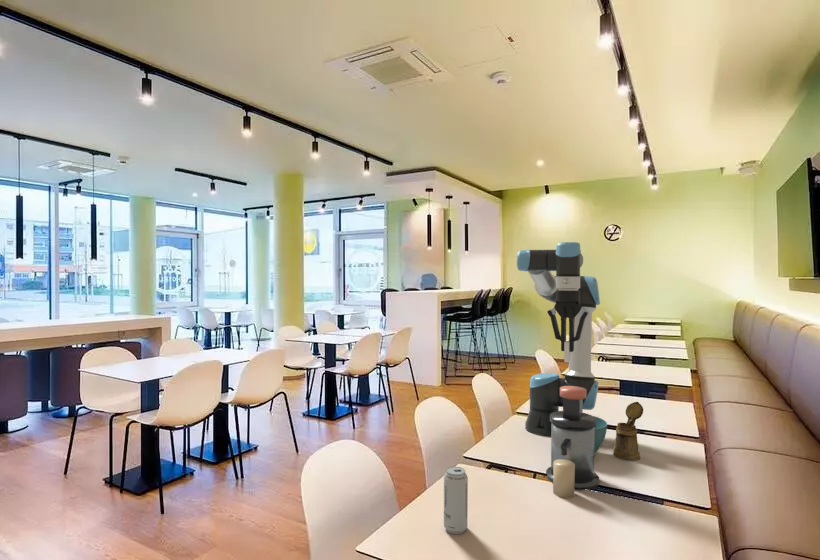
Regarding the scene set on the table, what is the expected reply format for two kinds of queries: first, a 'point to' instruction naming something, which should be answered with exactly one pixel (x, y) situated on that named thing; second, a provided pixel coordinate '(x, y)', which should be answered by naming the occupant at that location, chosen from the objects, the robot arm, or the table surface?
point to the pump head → (573, 392)
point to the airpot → (574, 442)
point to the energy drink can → (455, 500)
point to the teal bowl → (599, 433)
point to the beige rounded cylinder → (563, 478)
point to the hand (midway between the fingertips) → (567, 361)
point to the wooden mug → (628, 434)
